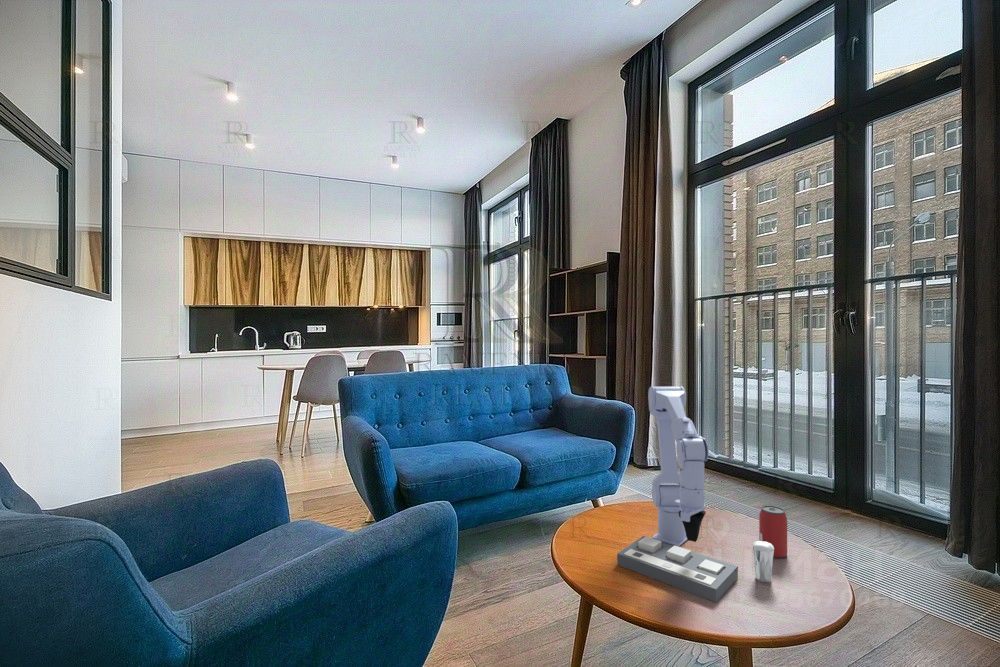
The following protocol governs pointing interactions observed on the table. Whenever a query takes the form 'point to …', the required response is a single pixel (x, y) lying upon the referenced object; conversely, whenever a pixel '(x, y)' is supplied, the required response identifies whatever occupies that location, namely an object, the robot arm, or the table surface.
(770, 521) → the beer can
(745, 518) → the table surface
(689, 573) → the button board
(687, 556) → the key middle
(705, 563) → the key
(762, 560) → the milkshake
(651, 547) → the key
